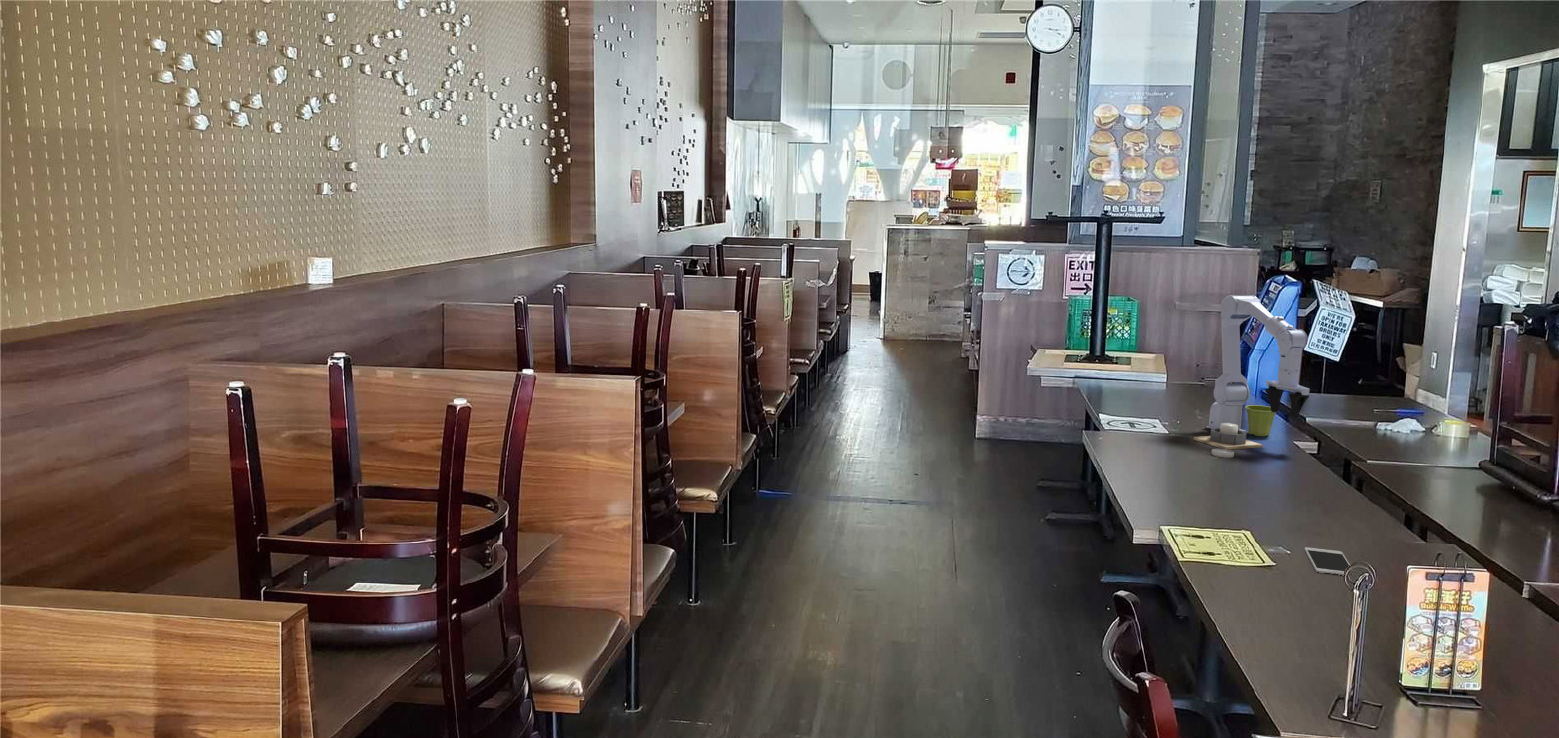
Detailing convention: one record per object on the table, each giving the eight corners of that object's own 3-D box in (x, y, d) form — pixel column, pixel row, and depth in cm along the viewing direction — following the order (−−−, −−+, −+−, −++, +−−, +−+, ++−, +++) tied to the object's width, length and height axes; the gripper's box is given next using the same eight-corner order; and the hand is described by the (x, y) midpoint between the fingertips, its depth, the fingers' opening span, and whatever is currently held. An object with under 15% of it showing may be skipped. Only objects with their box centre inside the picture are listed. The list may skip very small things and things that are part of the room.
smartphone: (1341, 555, 221) (1341, 550, 221) (1356, 579, 207) (1356, 574, 206) (1303, 550, 223) (1304, 546, 223) (1316, 574, 209) (1316, 570, 209)
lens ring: (1203, 438, 326) (1204, 428, 325) (1228, 436, 329) (1229, 427, 328) (1226, 445, 316) (1227, 435, 316) (1253, 443, 320) (1253, 434, 319)
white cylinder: (1215, 439, 324) (1216, 423, 323) (1228, 438, 326) (1230, 422, 325) (1227, 443, 320) (1228, 426, 319) (1240, 442, 321) (1241, 426, 320)
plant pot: (1278, 438, 332) (1281, 411, 330) (1247, 436, 333) (1250, 410, 332) (1269, 432, 341) (1272, 406, 339) (1239, 430, 342) (1241, 404, 341)
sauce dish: (1206, 454, 309) (1207, 449, 309) (1222, 453, 311) (1223, 448, 311) (1222, 459, 303) (1222, 454, 303) (1238, 457, 306) (1238, 452, 305)
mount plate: (1193, 439, 327) (1193, 437, 327) (1228, 437, 332) (1229, 434, 332) (1226, 449, 314) (1226, 447, 314) (1262, 447, 319) (1263, 444, 319)
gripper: (1260, 366, 320) (1255, 410, 322) (1298, 374, 307) (1293, 419, 309) (1278, 365, 322) (1273, 409, 325) (1316, 373, 309) (1311, 418, 311)
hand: (1284, 414), depth 317 cm, fingers open, 7 cm apart
